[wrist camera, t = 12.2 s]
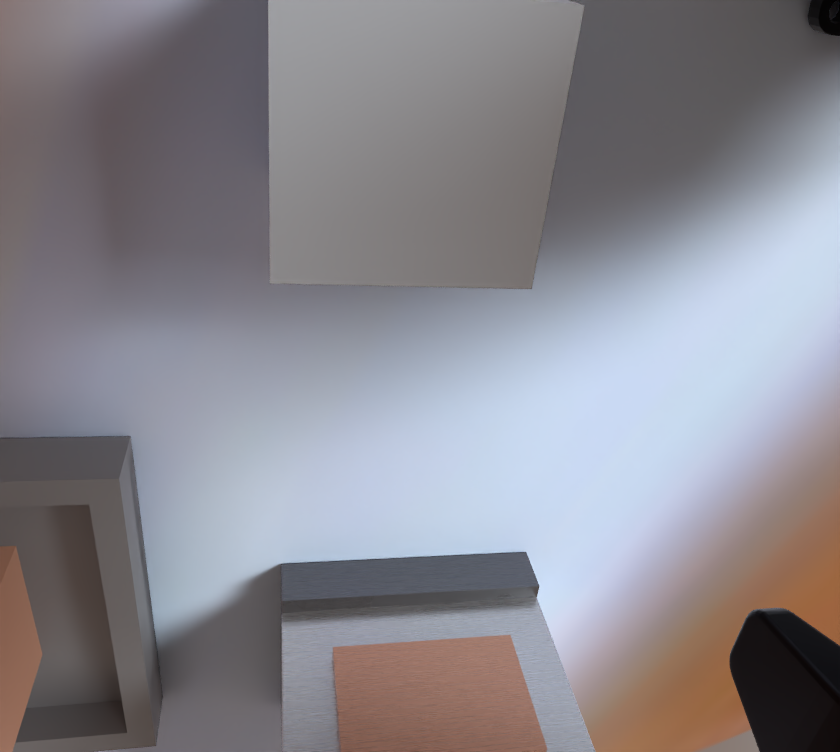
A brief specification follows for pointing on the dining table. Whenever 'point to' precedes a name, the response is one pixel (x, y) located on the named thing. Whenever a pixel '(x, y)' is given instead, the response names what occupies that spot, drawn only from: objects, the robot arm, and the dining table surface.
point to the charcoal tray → (83, 592)
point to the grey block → (414, 138)
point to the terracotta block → (15, 647)
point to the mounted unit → (422, 658)
